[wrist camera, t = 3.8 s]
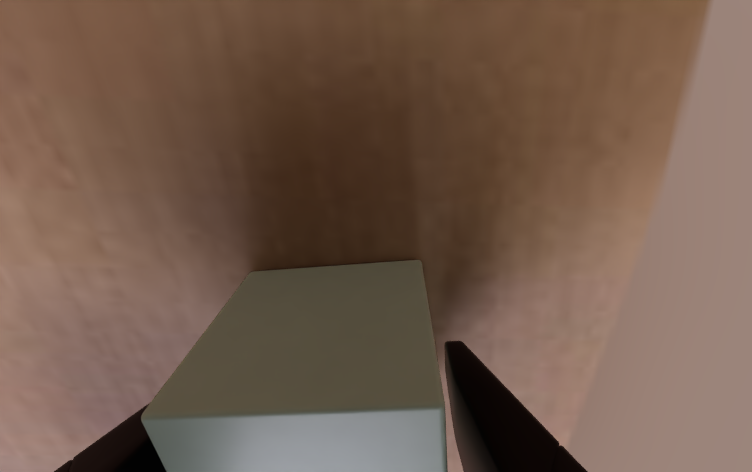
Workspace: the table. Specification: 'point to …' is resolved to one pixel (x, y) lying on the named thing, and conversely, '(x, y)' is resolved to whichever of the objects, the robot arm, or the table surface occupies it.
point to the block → (309, 378)
